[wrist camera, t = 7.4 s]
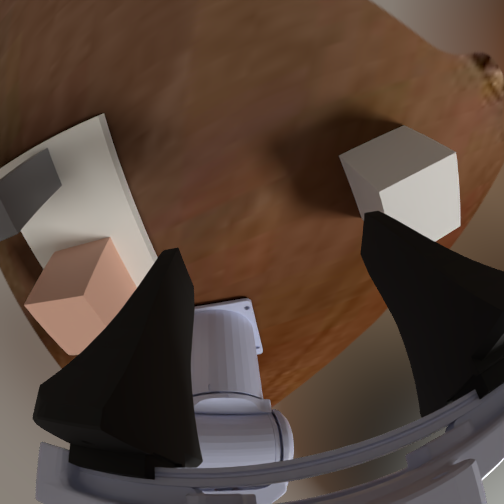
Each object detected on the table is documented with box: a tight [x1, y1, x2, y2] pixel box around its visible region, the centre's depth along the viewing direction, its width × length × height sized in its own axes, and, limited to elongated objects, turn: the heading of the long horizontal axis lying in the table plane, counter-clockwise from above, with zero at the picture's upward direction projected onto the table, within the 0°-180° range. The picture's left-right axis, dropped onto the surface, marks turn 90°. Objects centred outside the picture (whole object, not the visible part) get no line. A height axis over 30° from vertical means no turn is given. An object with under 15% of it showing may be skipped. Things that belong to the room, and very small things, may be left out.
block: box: [24, 237, 137, 355], centre depth 18 cm, size 6×6×6 cm
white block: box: [339, 125, 460, 242], centre depth 17 cm, size 6×6×6 cm
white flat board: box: [0, 113, 157, 287], centre depth 16 cm, size 16×11×7 cm
